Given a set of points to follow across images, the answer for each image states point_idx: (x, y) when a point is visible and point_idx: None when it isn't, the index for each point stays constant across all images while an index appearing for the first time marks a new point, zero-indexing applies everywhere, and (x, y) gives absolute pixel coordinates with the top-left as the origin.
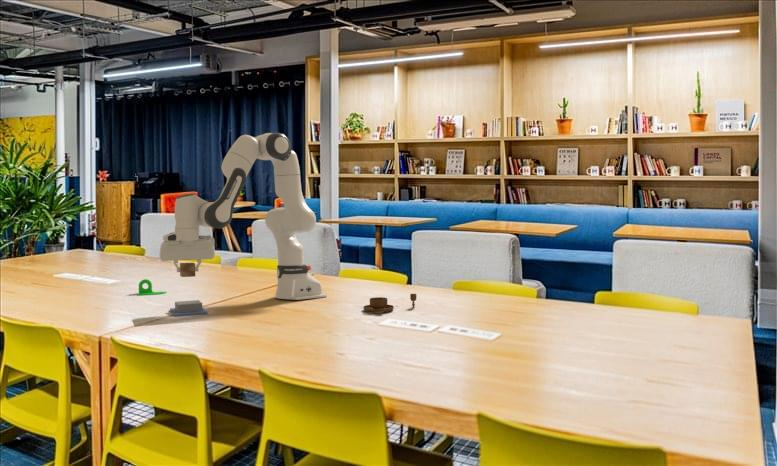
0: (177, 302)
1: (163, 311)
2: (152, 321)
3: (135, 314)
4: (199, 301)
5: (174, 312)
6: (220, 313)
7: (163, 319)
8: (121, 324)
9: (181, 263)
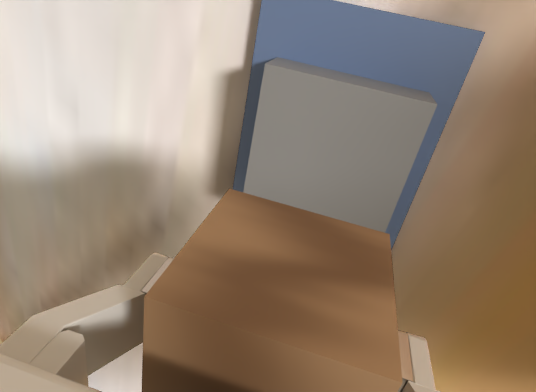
0: (267, 115)
1: (222, 2)
2: (133, 254)
3: (73, 13)
4: (404, 171)
5: (241, 169)
6: (443, 285)
7: (175, 245)
8: (35, 234)
9: (152, 385)
